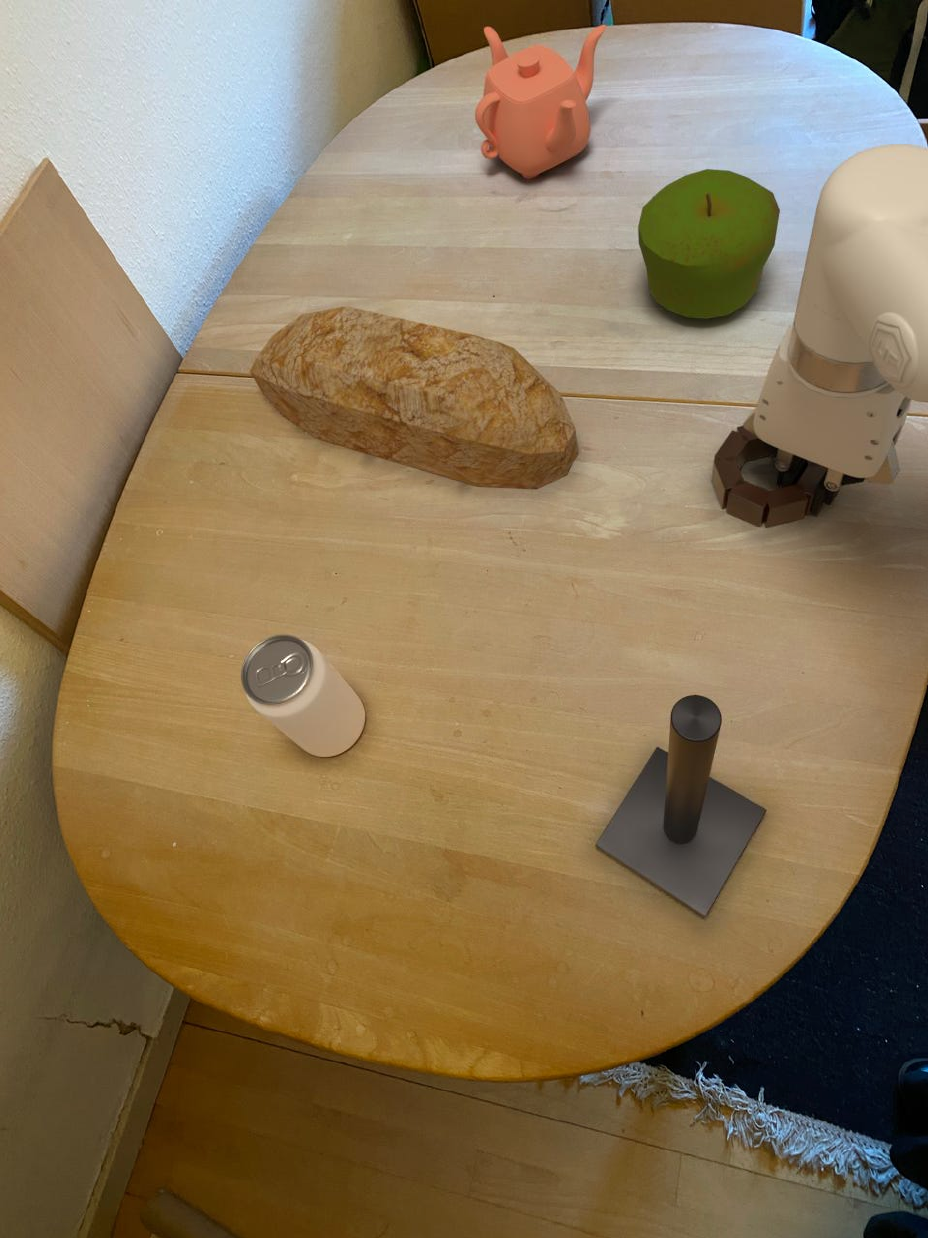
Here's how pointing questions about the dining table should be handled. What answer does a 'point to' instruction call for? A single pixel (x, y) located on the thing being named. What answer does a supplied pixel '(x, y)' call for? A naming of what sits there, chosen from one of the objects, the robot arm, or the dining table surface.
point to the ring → (751, 498)
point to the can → (302, 695)
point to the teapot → (535, 105)
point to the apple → (707, 242)
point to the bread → (419, 397)
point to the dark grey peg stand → (683, 814)
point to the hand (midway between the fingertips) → (804, 495)
